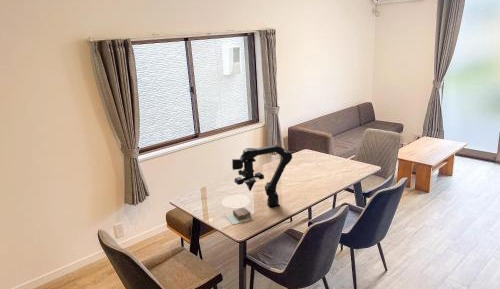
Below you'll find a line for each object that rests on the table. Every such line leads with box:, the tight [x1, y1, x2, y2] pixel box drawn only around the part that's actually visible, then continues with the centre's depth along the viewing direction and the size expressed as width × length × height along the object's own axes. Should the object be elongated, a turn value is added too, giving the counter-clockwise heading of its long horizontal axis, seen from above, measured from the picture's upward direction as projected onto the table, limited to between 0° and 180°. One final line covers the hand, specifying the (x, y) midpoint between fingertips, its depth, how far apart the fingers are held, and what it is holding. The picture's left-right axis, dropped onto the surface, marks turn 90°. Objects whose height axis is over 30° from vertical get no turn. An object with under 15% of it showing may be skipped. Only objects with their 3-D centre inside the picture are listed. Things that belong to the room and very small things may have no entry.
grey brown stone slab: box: [232, 207, 252, 220], centre depth 228 cm, size 3×9×8 cm
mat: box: [224, 212, 252, 226], centre depth 227 cm, size 12×14×1 cm
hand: (250, 190), depth 236 cm, fingers closed
